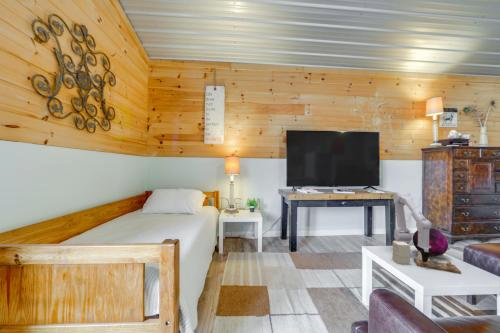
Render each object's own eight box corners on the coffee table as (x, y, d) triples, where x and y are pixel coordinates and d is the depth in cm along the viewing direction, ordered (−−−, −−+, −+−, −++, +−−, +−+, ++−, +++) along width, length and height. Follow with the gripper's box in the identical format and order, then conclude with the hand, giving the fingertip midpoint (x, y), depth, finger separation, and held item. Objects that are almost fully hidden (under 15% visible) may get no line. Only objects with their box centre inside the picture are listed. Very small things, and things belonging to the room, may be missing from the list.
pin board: (417, 266, 140) (417, 259, 140) (413, 260, 150) (413, 253, 150) (461, 274, 131) (461, 266, 131) (453, 267, 140) (453, 259, 140)
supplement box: (403, 260, 149) (403, 241, 149) (410, 264, 142) (410, 245, 142) (391, 259, 150) (392, 240, 150) (398, 264, 142) (398, 244, 143)
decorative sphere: (408, 249, 172) (408, 223, 172) (439, 252, 165) (439, 226, 166) (418, 258, 153) (419, 229, 153) (454, 263, 146) (454, 233, 147)
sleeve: (419, 262, 142) (419, 253, 142) (417, 259, 146) (417, 250, 147) (429, 264, 140) (429, 254, 140) (426, 261, 144) (427, 252, 144)
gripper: (434, 242, 135) (434, 265, 135) (427, 236, 148) (427, 257, 148) (420, 240, 138) (420, 262, 138) (415, 235, 151) (414, 254, 151)
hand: (423, 259), depth 143 cm, fingers open, 7 cm apart
